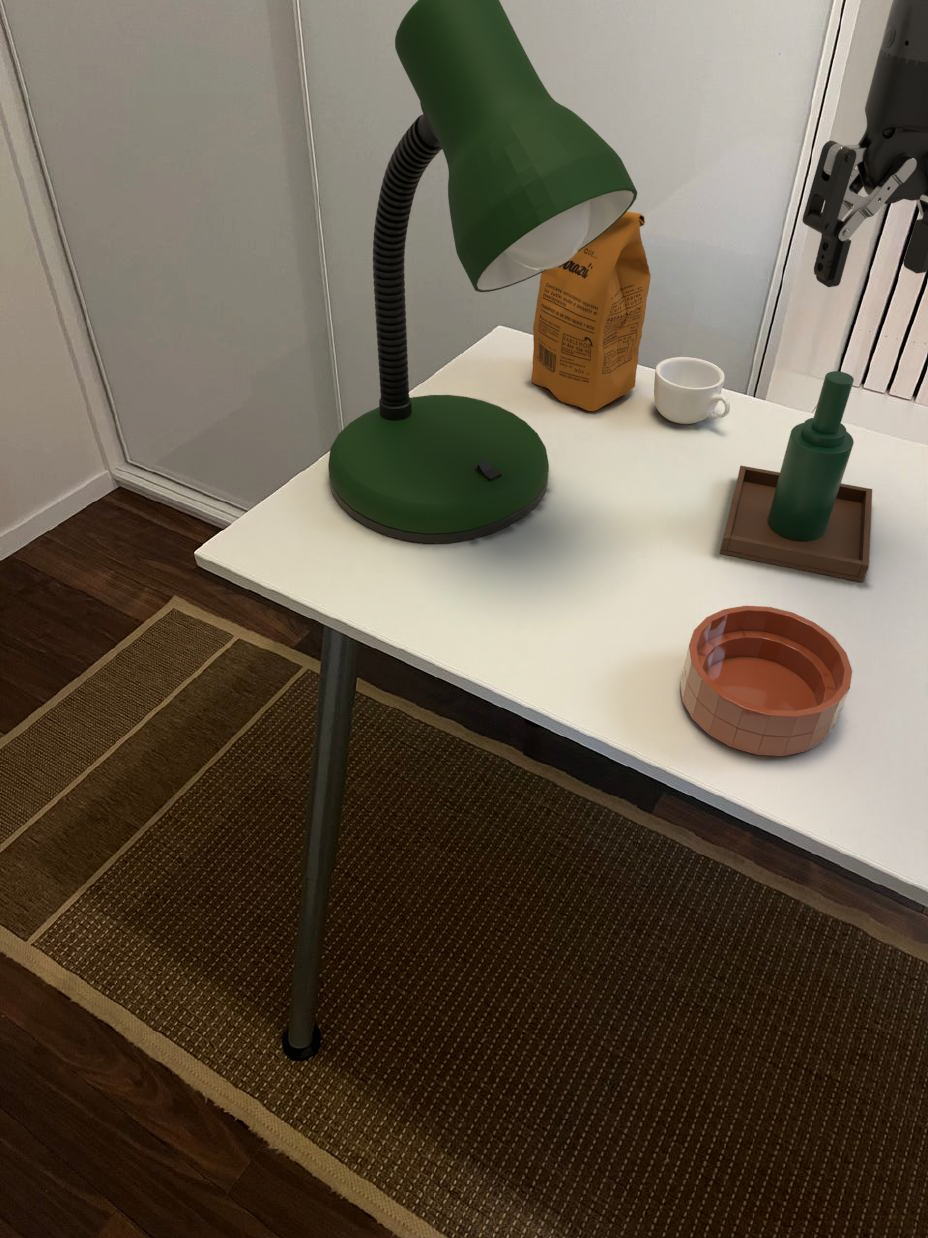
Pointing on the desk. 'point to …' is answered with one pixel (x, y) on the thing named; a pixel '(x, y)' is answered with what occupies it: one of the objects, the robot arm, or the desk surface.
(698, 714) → the bowl
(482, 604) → the desk surface
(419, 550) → the desk surface
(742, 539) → the tray
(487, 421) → the desk lamp
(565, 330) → the coffee package
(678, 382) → the teacup
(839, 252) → the robot arm
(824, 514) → the bottle
